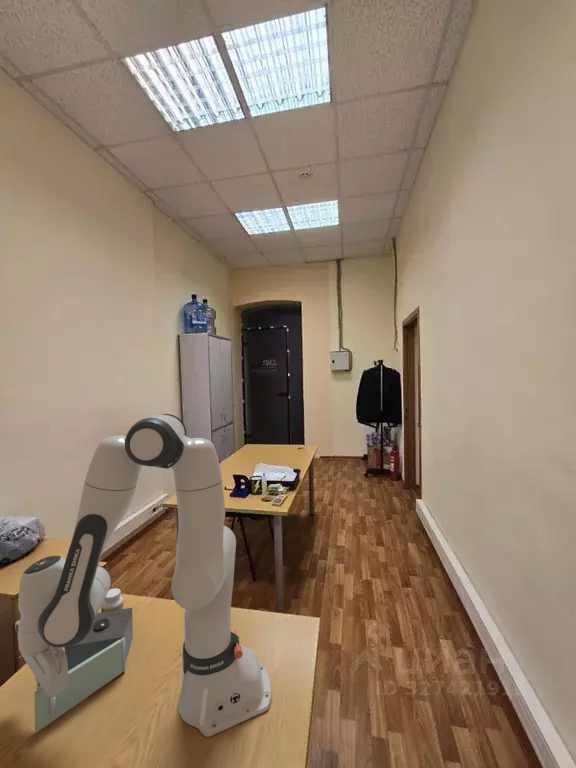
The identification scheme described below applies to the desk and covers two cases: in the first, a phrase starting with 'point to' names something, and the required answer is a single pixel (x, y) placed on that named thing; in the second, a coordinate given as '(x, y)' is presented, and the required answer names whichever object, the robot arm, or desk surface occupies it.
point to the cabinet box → (102, 636)
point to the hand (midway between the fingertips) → (43, 691)
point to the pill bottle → (112, 601)
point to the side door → (81, 683)
